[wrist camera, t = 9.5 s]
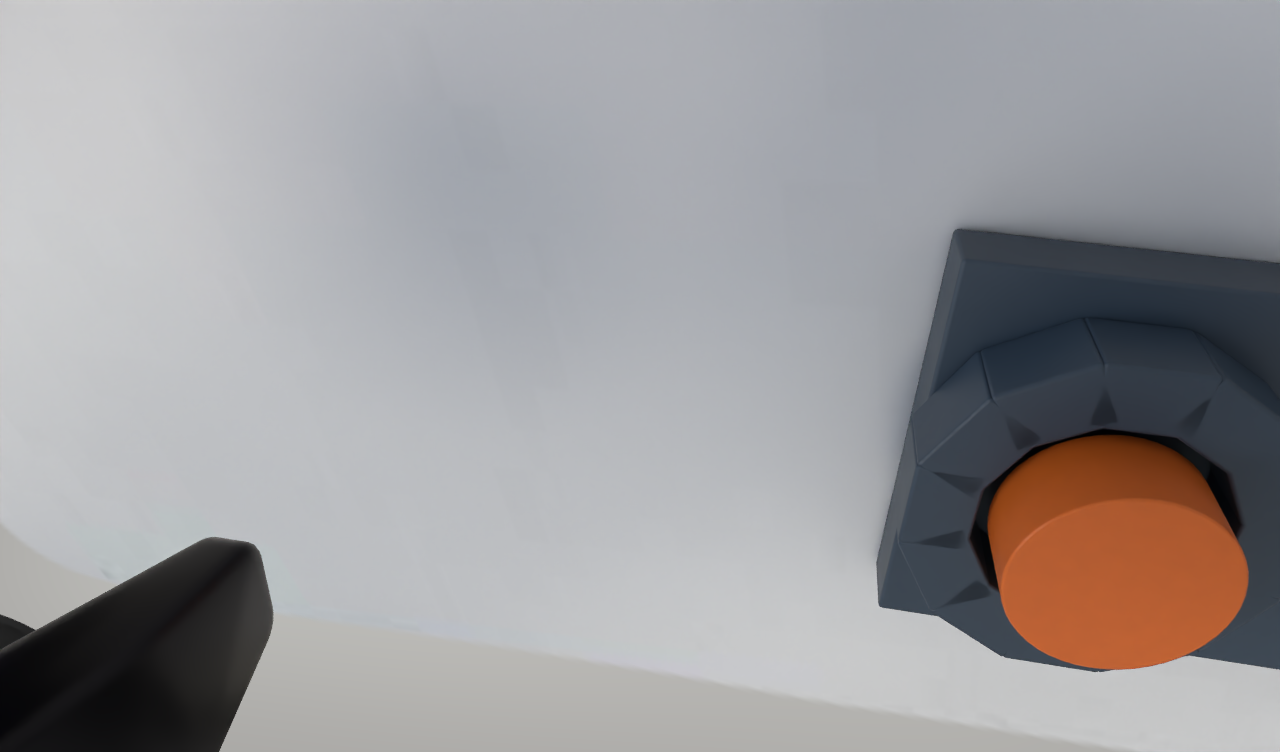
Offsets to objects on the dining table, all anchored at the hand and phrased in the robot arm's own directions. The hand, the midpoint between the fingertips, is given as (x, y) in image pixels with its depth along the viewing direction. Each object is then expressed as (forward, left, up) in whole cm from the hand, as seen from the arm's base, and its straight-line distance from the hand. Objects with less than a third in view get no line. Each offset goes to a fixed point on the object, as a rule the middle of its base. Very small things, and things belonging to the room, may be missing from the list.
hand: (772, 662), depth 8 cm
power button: (+6, -3, -9) cm, 11 cm away
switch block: (+9, -3, -11) cm, 15 cm away
